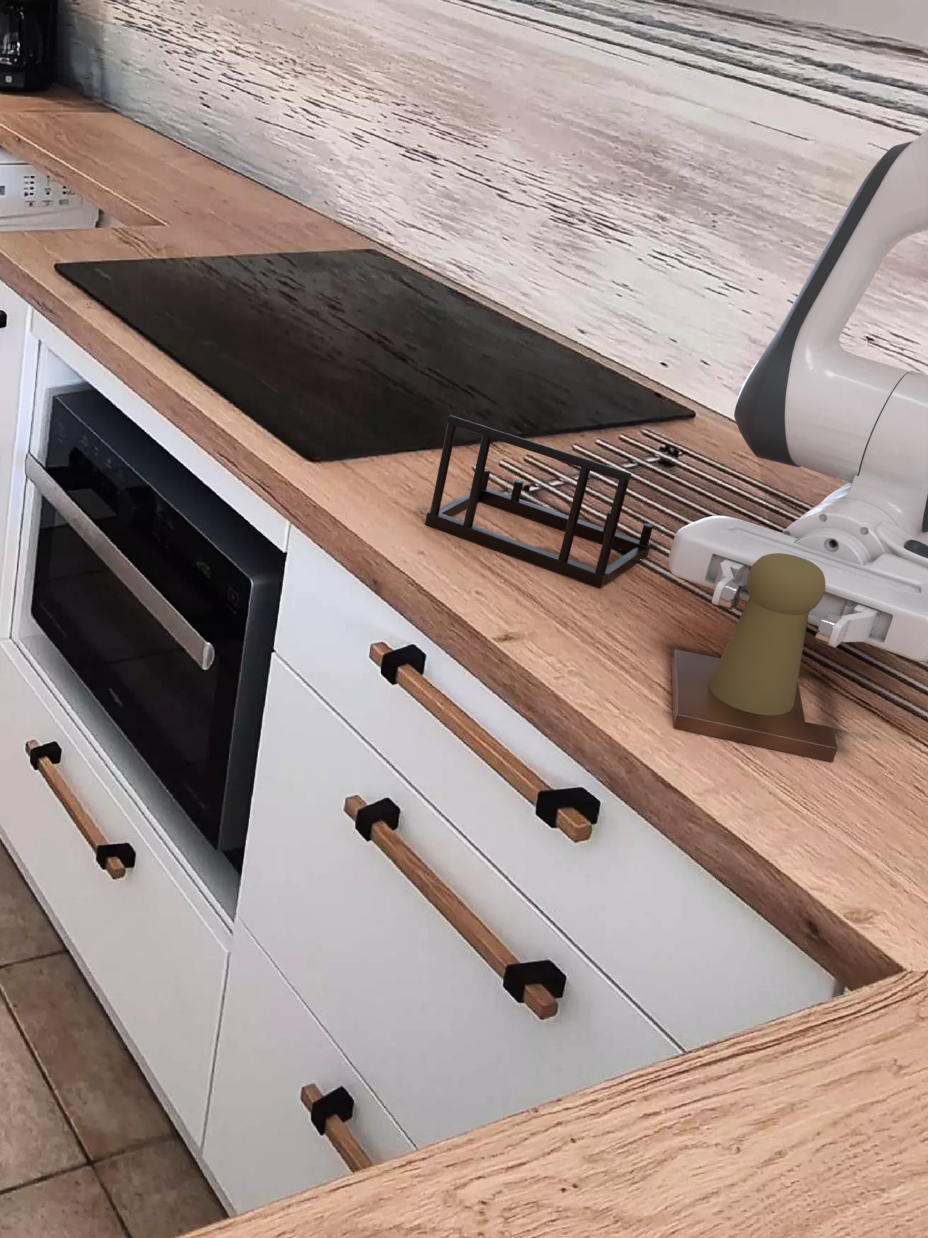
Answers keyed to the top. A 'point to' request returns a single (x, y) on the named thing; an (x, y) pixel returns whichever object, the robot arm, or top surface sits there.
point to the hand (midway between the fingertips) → (774, 615)
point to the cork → (769, 636)
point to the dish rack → (537, 511)
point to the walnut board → (741, 714)
